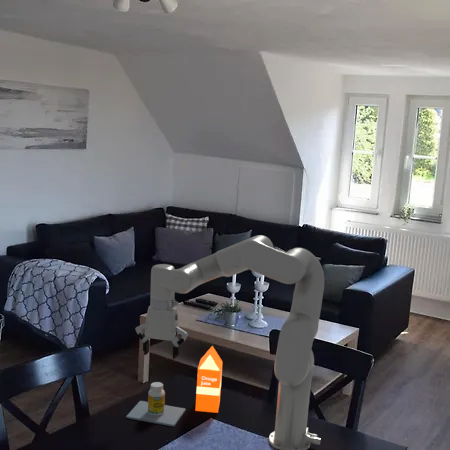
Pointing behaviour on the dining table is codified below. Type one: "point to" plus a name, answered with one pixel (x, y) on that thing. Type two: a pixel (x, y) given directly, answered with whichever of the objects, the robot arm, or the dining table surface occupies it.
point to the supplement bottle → (156, 399)
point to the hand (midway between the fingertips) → (160, 355)
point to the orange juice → (209, 382)
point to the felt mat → (167, 418)
